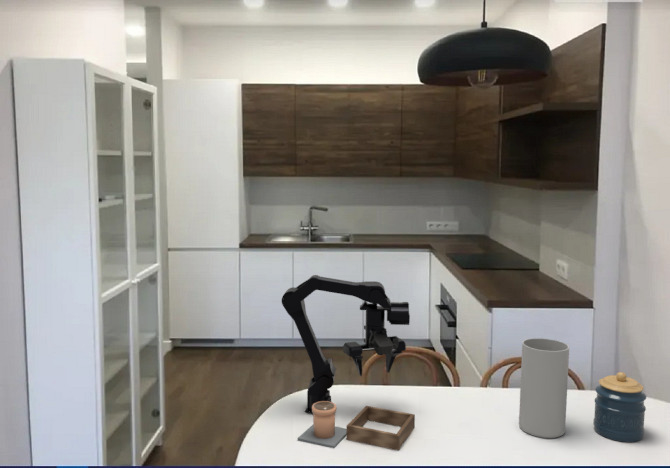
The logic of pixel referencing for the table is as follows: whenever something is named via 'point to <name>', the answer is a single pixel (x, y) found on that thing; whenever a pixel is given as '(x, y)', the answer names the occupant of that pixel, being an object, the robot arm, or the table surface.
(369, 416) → the brown wooden square frame
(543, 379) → the cylinder vase
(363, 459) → the table surface
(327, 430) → the terracotta pot
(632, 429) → the canister
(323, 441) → the slate mat
